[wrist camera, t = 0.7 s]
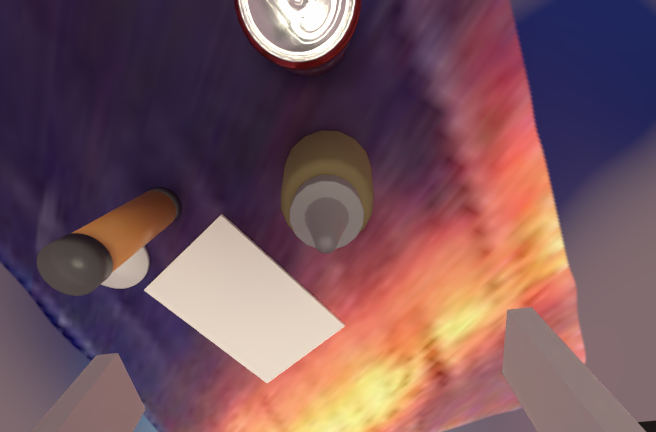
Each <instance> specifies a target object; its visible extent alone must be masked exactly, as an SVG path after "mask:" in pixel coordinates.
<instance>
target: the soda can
mask: <svg viewBox="0 0 656 432" xmlns="http://www.w3.org/2000/svg"><path fill="white" fill-rule="evenodd" d="M234 4H235V10H236V14H237V17H238V21H239V23H240V26H241V28H242V30H243V32H244V34H245V36H246V37H247V39H248V40H249V42H250V43H251V45H252V46H253V47H254V48H255V49H256V50H257V51H258V52H259V53H260V54H261V55H262V56H264V57H265V58H266V59H268V60H269V61H271V62H273V63H275V64H277V65H279V66H281V67H283V68H285V69H287V70H289V71H291V72H293V73H296V74H298V75H302V76H317V75H322V74H324V73H326V72H328V71H330V70H331V69H332V68H334V67H335V66H336V65H337V64H338V63H339V62H340V61H341V59H342V58H343V56H344V54H345V53H346V50H347V48H348V45H349V43H350V40H351V38H352V35H353V33H354V30H355V28H356V25H357V23H358V19H359V15H360V10H361V0H234Z"/></svg>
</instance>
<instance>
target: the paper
mask: <svg viewBox="0 0 656 432" xmlns="http://www.w3.org/2000/svg"><path fill="white" fill-rule="evenodd" d="M144 291H146V292H147V293H148V294H150V295H151V296H152V297H154V298H155V299H156V300H158V301H159V302H160V303H162V304H163V305H164V306H166V307H167V308H168V309H169V310H171V311H172V312H173V313H175V314H176V315H177V316H179V317H180V318H181V319H183V320H184V321H185V322H187V323H188V324H189V325H191V326H192V327H193V328H195V329H196V330H197V331H199V332H200V333H201V334H202V335H204V336H205V337H206V338H208V339H209V340H210V341H212V342H213V343H214V344H216V345H217V346H218V347H220V348H221V349H222V350H224V351H225V352H226V353H228V354H229V355H230V356H232V357H233V358H234V359H235V360H237V361H238V362H239V363H241V364H242V365H243V366H245V367H246V368H247V369H249V370H250V371H251V372H253V373H254V374H255V375H257V376H258V377H259V378H261V379H262V380H263V381H265V382H266V383H268V382H270V381H271V380H272V379H274V378H275V377H277V376H278V375H279V374H281V373H282V372H283V371H285V370H286V369H287V368H289V367H290V366H292V365H293V364H294V363H296V362H297V361H298V360H300V359H301V358H302V357H304V356H305V355H307V354H308V353H309V352H311V351H312V350H313V349H315V348H316V347H317V346H319V345H320V344H321V343H323V342H324V341H326V340H327V339H328V338H330V337H331V336H332V335H334V334H335V333H336V332H338V331H339V330H341V329H342V328H343V327H345V324H344V323H343V322H342V321H341V320H340V319H339V318H338V317H336V316H335V315H334V314H333V313H332V312H331V311H330V310H329V309H328V308H326V307H325V306H324V305H323V304H322V303H321V302H320V301H319V300H317V299H316V298H315V297H314V296H313V295H312V294H311V293H310V292H309V291H307V290H306V289H305V288H304V287H303V286H302V285H301V284H300V283H299V282H297V281H296V280H295V279H294V278H293V277H292V276H291V275H290V274H289V273H287V272H286V271H285V270H284V269H283V268H282V267H281V266H280V265H279V264H277V263H276V262H275V261H274V260H273V259H272V258H271V257H270V256H269V255H267V254H266V253H265V252H264V251H263V250H262V249H261V248H260V247H259V246H257V245H256V244H255V243H254V242H253V241H252V240H251V239H250V238H249V237H247V236H246V235H245V234H244V233H243V232H242V231H241V230H240V229H239V228H237V227H236V226H235V225H234V224H233V223H232V222H231V221H230V220H228V219H227V218H226V217H225V216H224V215H223V214H221V215H220V216H219V217H218V218H217V219H216V220H215V221H214V222H213V223H212V224H211V225H210V226H209V227H208V228H207V229H206V230H205V231H204V232H203V233H202V234H201V235H200V236H199V237H198V238H197V239H196V240H195V241H194V242H193V243H191V244H190V245H189V246H188V247H187V248H186V249H185V250H184V251H183V252H182V253H181V254H180V255H179V256H178V257H177V258H176V259H175V260H174V261H173V262H172V263H171V264H170V265H169V266H168V267H167V268H166V269H165V270H164V271H163V272H162V273H161V274H160V275H159V276H158V277H157V278H156V279H154V280H153V281H152V282H151V283H150V284H149V285H148V286H147V287H146V288H145V289H144Z"/></svg>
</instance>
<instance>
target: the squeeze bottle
mask: <svg viewBox="0 0 656 432" xmlns="http://www.w3.org/2000/svg"><path fill="white" fill-rule="evenodd" d="M373 200H374V193H373V180H372V168H371V165H370V162H369V159H368V156H367V153H366V151H365V150H364V149H363V148H362V147H361V145H360V144H359V143H358V142H357V141H356V140H355V139H354V138H352V137H350V136H348V135H346V134H343V133H341V132H339V131H323V130H321V131H318V132H315V133H313V134H310V135H307V136H305V137H303V138H302V139H301V140H300V141H299V142H298V143H297V144H296V145H295V146H294V147H293V148H292V149H291V151H290V154H289V156H288V158H287V161H286V163H285V167H284V174H283V181H282V189H281V211H282V213H283V215H284V218H285V220H286V222H287V224H288V226H289V227H290V228H291V229H292V230H293V231H294V233H295V235H296V236H297V237H299V238H300V239H301V240H302V241H303V242H304V243H305V244H307V245H309V246H311V247H314V248H316V249H317V250H318V251H319V252H322V253H330V252H332V251H334V250H335V249H337V248H340V247H343V246H346V245H347V244H348V243H349V242H351V241H352V240H353V239H354V238H356V237H357V235H358V233H359V232H361V231H362V230H363V229H364V228H365V226H366V224H367V222H368V220H369V219H370V217H371V215H372V210H373Z"/></svg>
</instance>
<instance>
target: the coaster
mask: <svg viewBox="0 0 656 432" xmlns="http://www.w3.org/2000/svg"><path fill="white" fill-rule="evenodd" d="M149 267H150V256H149V252H148V250H147V248H146V246H143V247H142V248H141V249H140V250H139V251H137V252H136V253H135V254H134V255H133V256H131V257H130V258H129V259H128V260H127V261H125V262H124V263H123V264H122V265H121V266H119V267H118V268H117V269H116V270H115V271H114V272H112V273H111V275H110V276H109V277H108V278H107V279H106V280H105V281H104V282H103V283H101V284H102V285H104V286H107V287H111V288H128V287H131V286H134V285H136V284H137V283H139V282H140V281H141V280H142V279H143V278H144V277H145V276H146V274H147V273H148V270H149Z"/></svg>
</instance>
